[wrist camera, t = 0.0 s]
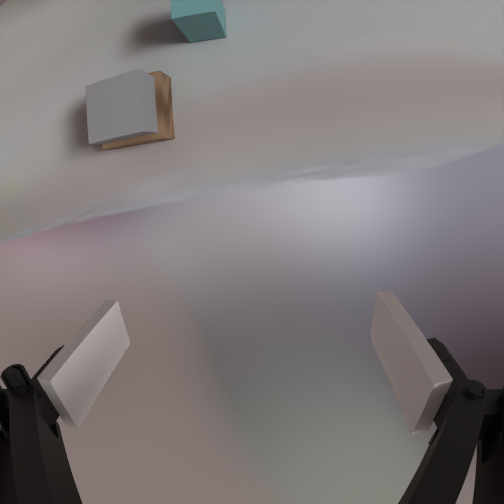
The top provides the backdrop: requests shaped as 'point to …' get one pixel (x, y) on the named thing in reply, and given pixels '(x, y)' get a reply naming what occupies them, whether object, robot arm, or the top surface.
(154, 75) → the tower base
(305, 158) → the top surface
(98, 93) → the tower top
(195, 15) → the column block
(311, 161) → the top surface
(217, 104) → the top surface
